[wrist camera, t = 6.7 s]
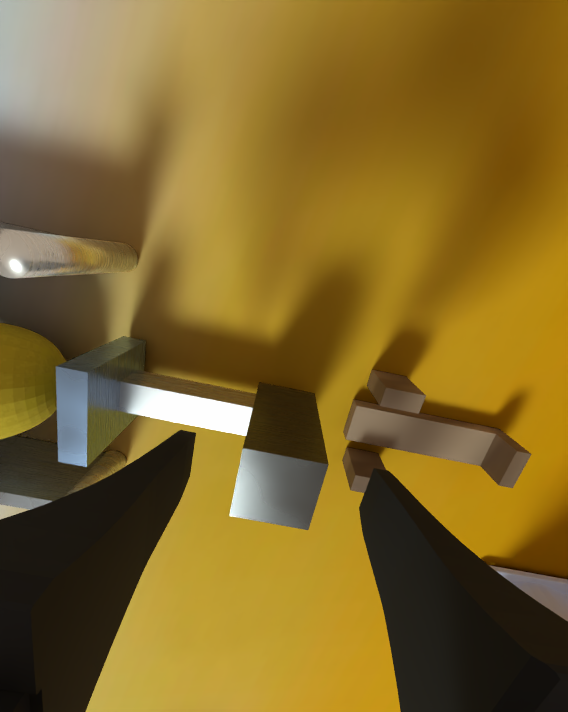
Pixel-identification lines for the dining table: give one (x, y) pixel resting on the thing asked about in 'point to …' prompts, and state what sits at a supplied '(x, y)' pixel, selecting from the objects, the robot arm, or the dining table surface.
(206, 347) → the dining table surface
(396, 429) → the track
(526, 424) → the dining table surface
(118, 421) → the rod
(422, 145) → the dining table surface
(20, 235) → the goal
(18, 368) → the lemon
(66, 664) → the robot arm
